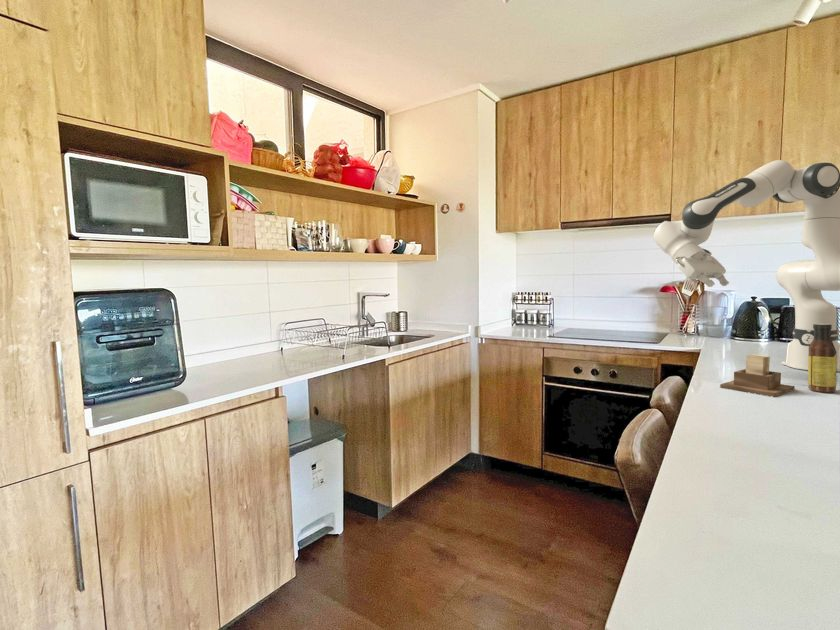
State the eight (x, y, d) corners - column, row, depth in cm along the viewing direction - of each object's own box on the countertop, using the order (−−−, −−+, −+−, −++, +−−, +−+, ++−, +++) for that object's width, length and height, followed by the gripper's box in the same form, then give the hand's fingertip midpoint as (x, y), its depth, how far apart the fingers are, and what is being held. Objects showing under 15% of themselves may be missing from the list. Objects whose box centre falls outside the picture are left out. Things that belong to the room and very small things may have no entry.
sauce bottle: (842, 393, 129) (845, 324, 127) (819, 393, 129) (823, 325, 127) (822, 387, 135) (825, 322, 134) (801, 388, 135) (803, 323, 134)
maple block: (751, 382, 139) (752, 354, 139) (768, 385, 136) (769, 356, 135) (745, 384, 137) (746, 355, 136) (762, 387, 133) (763, 357, 133)
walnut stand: (741, 380, 146) (742, 365, 146) (794, 389, 134) (795, 373, 134) (720, 387, 139) (720, 371, 138) (774, 397, 127) (774, 379, 126)
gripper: (680, 250, 150) (710, 279, 142) (711, 250, 160) (741, 277, 153) (666, 264, 154) (695, 292, 146) (698, 263, 165) (726, 290, 157)
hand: (719, 285), depth 150 cm, fingers open, 8 cm apart
